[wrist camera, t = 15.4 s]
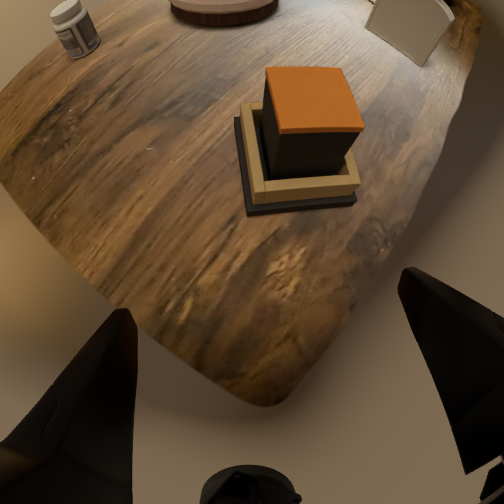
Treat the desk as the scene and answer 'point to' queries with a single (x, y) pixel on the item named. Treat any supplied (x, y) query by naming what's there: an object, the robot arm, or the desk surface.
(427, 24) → the gravestone
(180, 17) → the mug
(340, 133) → the orange rectangular block
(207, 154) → the desk surface
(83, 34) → the pill bottle
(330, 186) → the base pad
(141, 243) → the desk surface
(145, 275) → the desk surface
